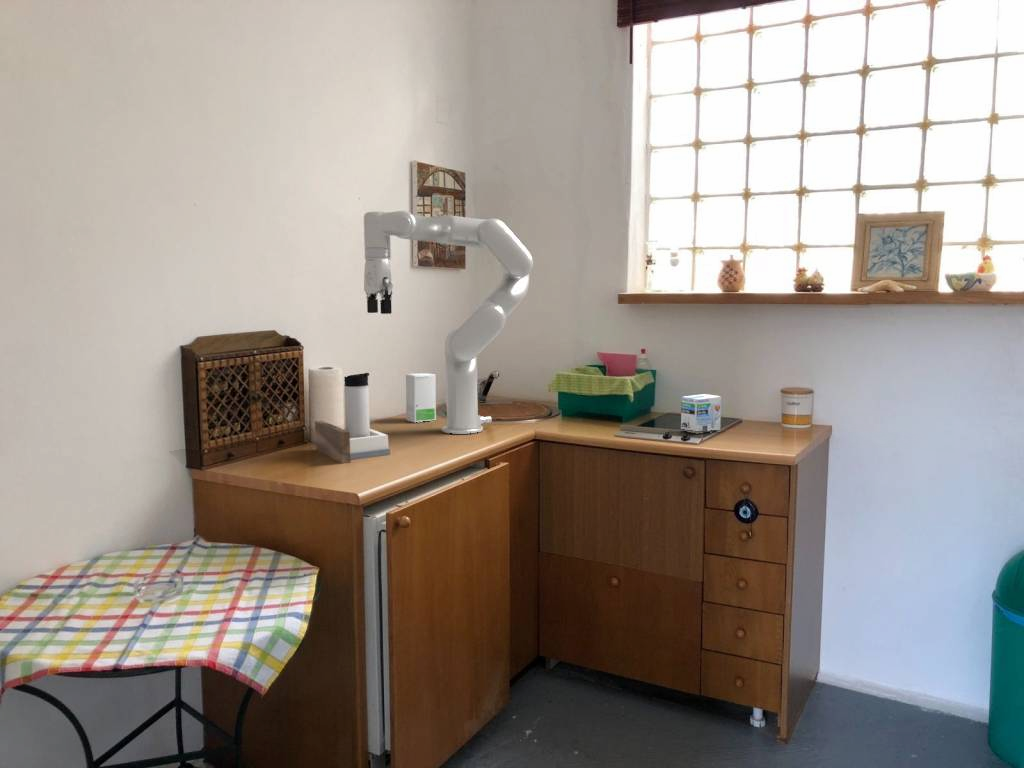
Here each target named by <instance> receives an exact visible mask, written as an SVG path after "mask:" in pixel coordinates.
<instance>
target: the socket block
mask: <svg viewBox="0 0 1024 768" xmlns="http://www.w3.org/2000/svg"><path fill="white" fill-rule="evenodd" d="M389 455H391V449H390V448H389V435H388V434H387V433H383V432H380V431H379V430H375V429H373V428H370V436H368V437H359V438H351V439H350V461H351V460H358V459H366V458H372V457H373V458H374V457H381V456H389Z"/></svg>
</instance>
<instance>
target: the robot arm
mask: <svg viewBox="0 0 1024 768" xmlns="http://www.w3.org/2000/svg"><path fill="white" fill-rule="evenodd" d="M363 236H364V237H363V239H364V241H363V243H364V260H365V263H364V271H363V272H364V275H363V278H364V280H363V283H364V284H363V290H364V291H363V292H364V293H365V294H366V297H365V298H366V305H367V306H366V310H367V313H368V314H377V313H379V308H378V307H379V305H380V314H383V315H388V314H390V315H391V314H392V310H393V309H392V300H393V297H392V295H393V287H394V286H393V283H392V272H391V264H390V261H391V260H392V257H391V255H392V254H391V250H392V249H391V236H392V237H393V236H394V237H397V238H398V239H403V240H411V241H419V242H428V243H429V242H430V243H437V244H441V245H450V246H451V245H452V246H460V247H471V248H477V249H478V248H479V249H486V250H489V251H490V253H491V254H492V255H493V256H494V258H495V259H496V260H497V261H498V262H499V263H500V268H501V271H502V277H501V280H500V282H499V284H498V285H497V286H496V287H495V288H494V289H493V290H492V291H491V293H489V294H488V296H487V297H485V298H484V299H483V300H482V301H481V302H480V303H479V304H478V305H477V306H476V307H474V309H473V311H472V312H471V315H470V316H469V317H468V318H467V319H466V320H465V321H464V322H463V323H462V324H461V325H460V326H459V327H455V328H453V329H451V330H450V331H449V332H448V333H447V335H446V337H445V341H444V356H445V357H444V358H445V388H446V389H445V391H446V393H445V394H446V395H445V396H446V398H445V399H446V402H445V403H446V406H445V407H446V425H443V426H442V427H441V431H442V433H445V434H450V433H452V435H469V434H470V433H471V434H478V433H480V432H483V430H484V426H483V424H485V423H486V424H487V423H492V419H493V418H492V417H491V416H489V415H487V416H481V415H480V414H478V413H479V412H478V411H479V410H478V407H479V406H478V405H479V404H478V403H479V401H478V359H477V357H478V356H479V354H481V352H482V351H483V350H484V349H485V348H486V347H487V346H489V344H491V342H492V341H494V339H495V338H496V337H497V336H498V335H499V334H501V332H502V330H503V329H504V328H505V326H506V322H507V321H506V320H507V318H508V316H509V315H511V313H512V312H513V311H514V310H515V309H516V308H517V307H518V306H519V304H520V303H522V301H523V300H524V298H525V297H526V295H527V293H528V290H529V285H530V273H531V272H532V270H533V267H534V258H533V257H532V255H531V253H530V251H529V250H528V249H527V248H526V247H525V245H524V244H522V242H521V241H520V240H519V239H518V237H516V235H515V234H514V233H513V232H512V230H511V229H510V228H509V227H508V226H507V225H506V224H505V222H503V221H502V220H501V219H498V218H488V219H485V218H483V219H482V218H473V217H465V216H457V215H443V216H423V215H415V214H413V213H411V212H410V211H407V210H397V211H388V212H387V211H386V212H385V211H367V212H365V213H364V214H363ZM378 294H379V295H380V296H379V297H380V300H378V299H377V298H378ZM378 301H380V303H379V302H378ZM477 432H478V433H477Z"/></svg>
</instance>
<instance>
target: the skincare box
mask: <svg viewBox="0 0 1024 768" xmlns="http://www.w3.org/2000/svg"><path fill="white" fill-rule="evenodd" d="M436 377H437V375H436V373H435V374H433V373H406V374H405V390H406V393H405V394H406V396H405V397H406V398H405V399H406V401H405V402H406V403H405V405H406V408H405V409H406V410H405V411H406V421H407V420H408V421H407V422H410V421H411V423H413V422H414V423H416V422H417V423H424V422H423V421H430V422H432V421H431V420H436V421H437V402H436V401H437V398H436V397H437V394H436V393H437V392H436V389H437V388H436V383H437V381H436V379H437V378H436ZM414 423H413V424H414Z"/></svg>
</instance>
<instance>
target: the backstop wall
mask: <svg viewBox="0 0 1024 768" xmlns="http://www.w3.org/2000/svg"><path fill="white" fill-rule="evenodd" d="M314 436H315V451H316V452H319V453H321V454H323V455H325V456H327V457H329V458H331V459H333V460H335V461H337V462H339V463H341V464H349V463H351V460H350V434H349V431H346V429H343V428H341V427H339V426H337V425H334V424H331V423H329V422H326V421H324V420H316V421H314Z"/></svg>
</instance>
